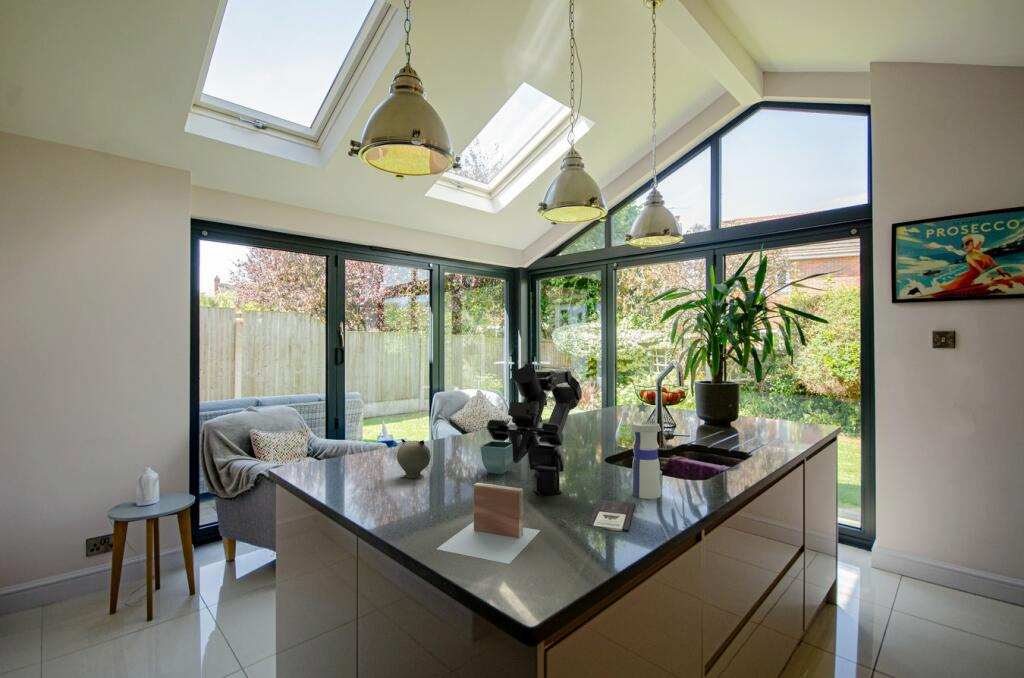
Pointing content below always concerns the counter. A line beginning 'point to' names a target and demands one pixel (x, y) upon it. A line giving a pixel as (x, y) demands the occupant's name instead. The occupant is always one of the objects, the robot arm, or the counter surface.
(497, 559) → the light gray mat
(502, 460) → the flower pot
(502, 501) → the birch tile
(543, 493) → the robot arm
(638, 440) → the water bottle
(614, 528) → the chocolate bar
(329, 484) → the counter surface
